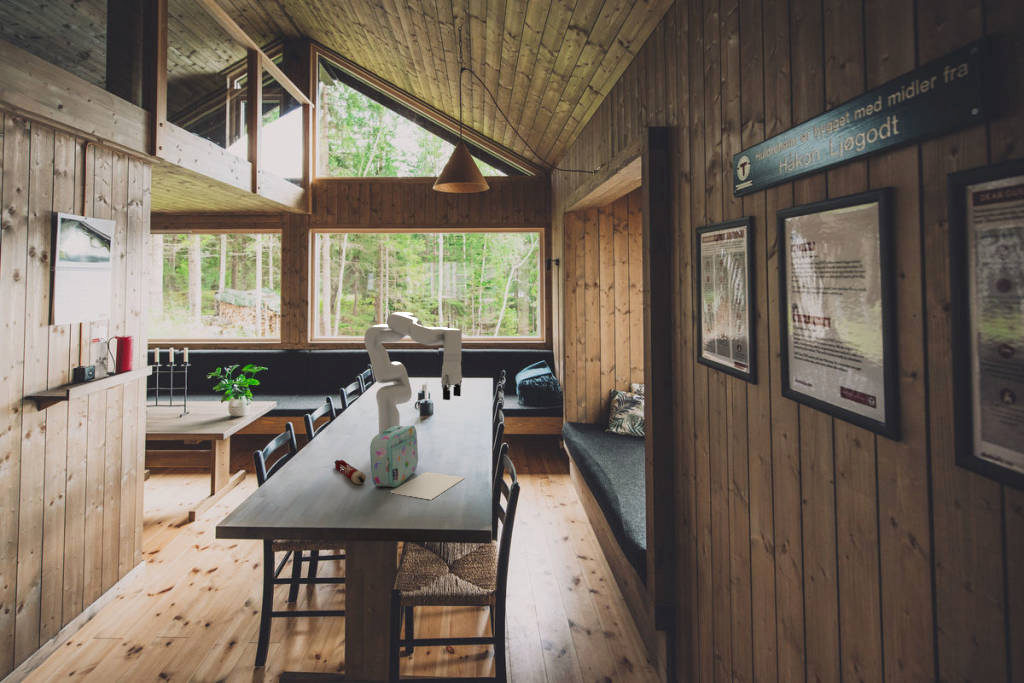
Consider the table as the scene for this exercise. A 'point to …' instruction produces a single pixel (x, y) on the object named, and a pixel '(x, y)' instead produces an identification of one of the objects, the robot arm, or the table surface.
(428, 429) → the table surface
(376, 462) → the lunch box
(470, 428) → the table surface
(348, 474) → the shock absorber
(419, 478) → the mat
